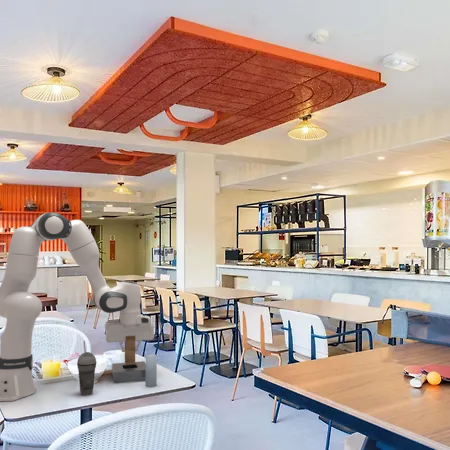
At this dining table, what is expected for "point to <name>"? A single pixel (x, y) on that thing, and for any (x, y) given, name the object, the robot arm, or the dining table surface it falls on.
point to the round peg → (151, 370)
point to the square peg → (130, 350)
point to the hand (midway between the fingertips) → (130, 351)
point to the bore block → (129, 372)
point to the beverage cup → (86, 372)
